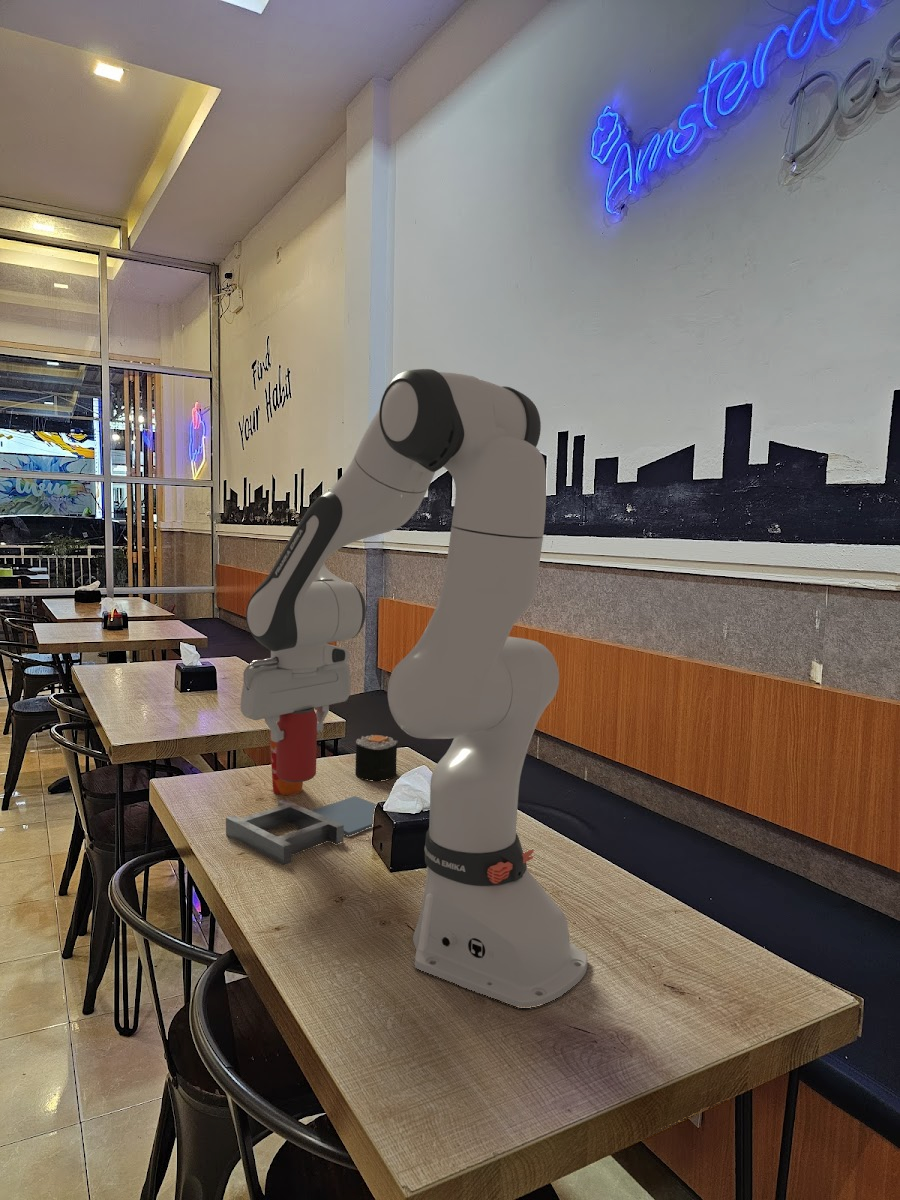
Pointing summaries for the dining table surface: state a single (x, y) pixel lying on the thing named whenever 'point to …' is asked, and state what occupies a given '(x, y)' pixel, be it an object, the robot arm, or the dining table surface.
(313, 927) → the dining table surface
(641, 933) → the dining table surface
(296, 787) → the paper cup
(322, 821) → the frame
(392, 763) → the sushi
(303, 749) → the beer can
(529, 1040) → the dining table surface
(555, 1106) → the dining table surface
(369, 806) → the rubber mat
